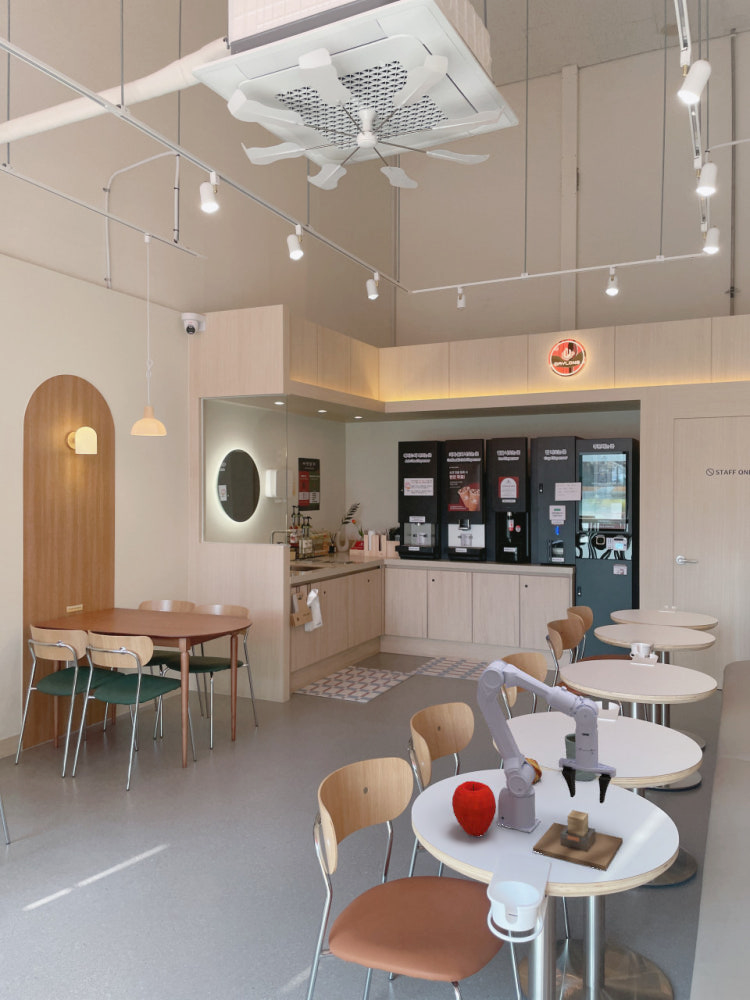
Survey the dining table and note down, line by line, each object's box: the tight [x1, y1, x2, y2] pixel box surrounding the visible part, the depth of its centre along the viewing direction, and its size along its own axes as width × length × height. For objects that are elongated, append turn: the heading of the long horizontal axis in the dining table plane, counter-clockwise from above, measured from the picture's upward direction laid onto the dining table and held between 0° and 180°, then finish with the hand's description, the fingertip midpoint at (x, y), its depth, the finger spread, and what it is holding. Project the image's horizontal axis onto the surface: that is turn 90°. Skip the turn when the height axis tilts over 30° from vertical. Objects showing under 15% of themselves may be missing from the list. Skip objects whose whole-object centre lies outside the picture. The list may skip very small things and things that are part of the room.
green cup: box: [564, 732, 597, 782], centre depth 236 cm, size 10×10×12 cm
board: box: [532, 822, 624, 872], centre depth 190 cm, size 18×16×1 cm
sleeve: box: [561, 824, 596, 852], centre depth 190 cm, size 7×7×3 cm
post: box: [567, 809, 589, 837], centre depth 190 cm, size 4×4×7 cm
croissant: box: [525, 757, 543, 785], centre depth 234 cm, size 21×10×8 cm, turn 153°
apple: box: [451, 780, 497, 837], centre depth 199 cm, size 12×12×13 cm
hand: (587, 798), depth 197 cm, fingers open, 7 cm apart
